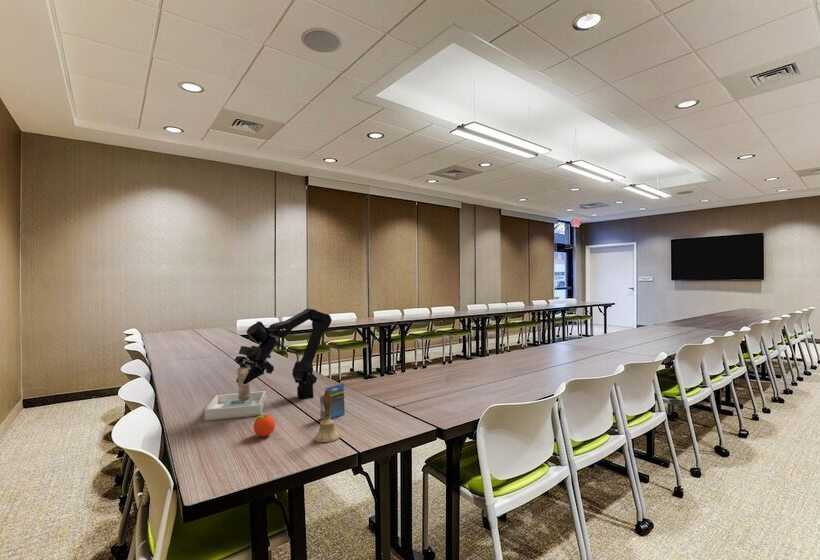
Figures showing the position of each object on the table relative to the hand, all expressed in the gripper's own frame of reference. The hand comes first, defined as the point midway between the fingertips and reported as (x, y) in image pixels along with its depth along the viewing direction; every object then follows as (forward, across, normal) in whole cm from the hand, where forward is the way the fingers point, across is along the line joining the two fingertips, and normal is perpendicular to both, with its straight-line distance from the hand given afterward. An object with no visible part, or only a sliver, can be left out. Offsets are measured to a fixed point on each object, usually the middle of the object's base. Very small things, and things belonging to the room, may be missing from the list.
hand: (240, 383), depth 151 cm
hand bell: (+7, +42, +13) cm, 44 cm away
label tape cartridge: (-4, +29, +24) cm, 38 cm away
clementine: (+14, +22, +5) cm, 27 cm away
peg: (+4, 0, +6) cm, 7 cm away
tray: (+6, -10, +13) cm, 18 cm away
